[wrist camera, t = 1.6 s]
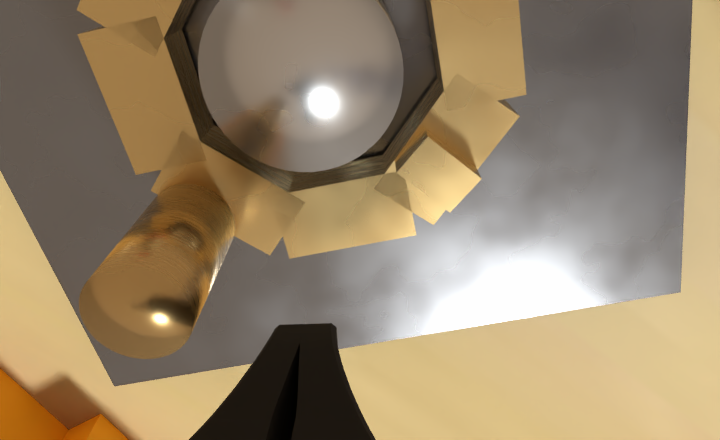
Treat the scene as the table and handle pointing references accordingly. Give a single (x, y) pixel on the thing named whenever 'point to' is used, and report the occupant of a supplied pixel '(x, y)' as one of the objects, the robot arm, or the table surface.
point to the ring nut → (266, 183)
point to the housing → (369, 139)
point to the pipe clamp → (43, 419)
